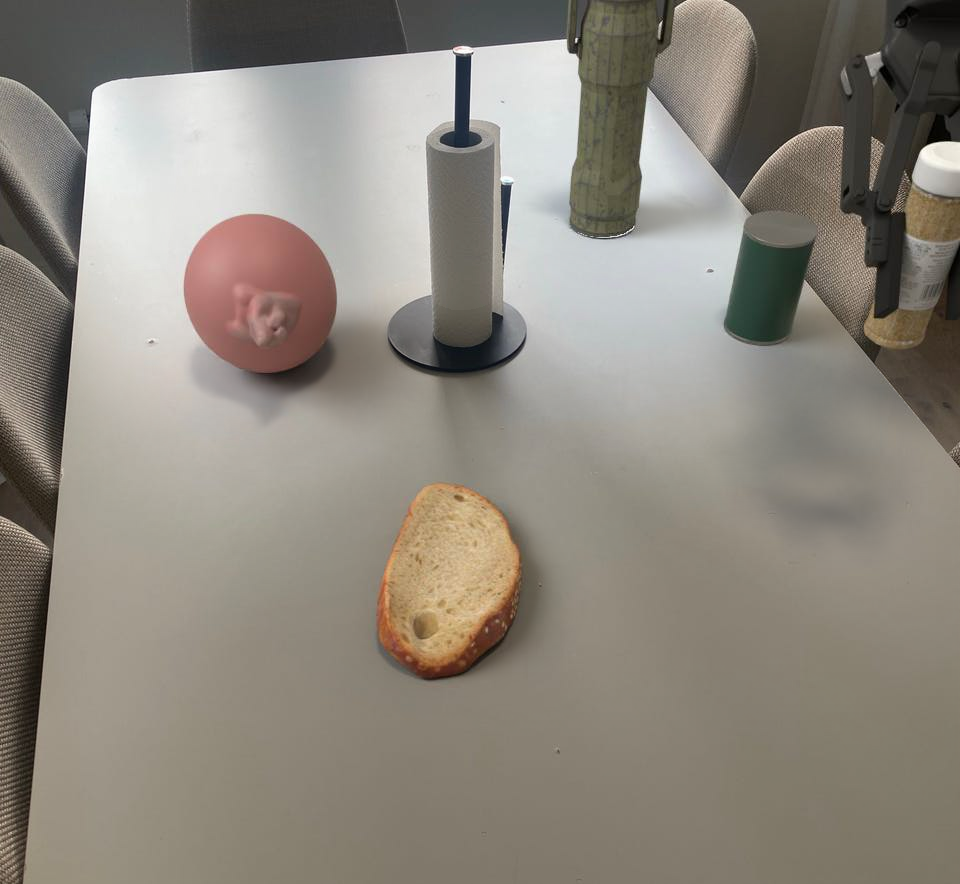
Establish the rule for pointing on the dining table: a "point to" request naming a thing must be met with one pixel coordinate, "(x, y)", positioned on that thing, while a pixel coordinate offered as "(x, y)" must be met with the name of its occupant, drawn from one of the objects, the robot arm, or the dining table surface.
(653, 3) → the thermos
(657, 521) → the dining table surface
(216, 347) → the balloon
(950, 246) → the sprinkles bottle
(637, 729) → the dining table surface
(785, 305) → the tin can
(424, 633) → the bread slice
